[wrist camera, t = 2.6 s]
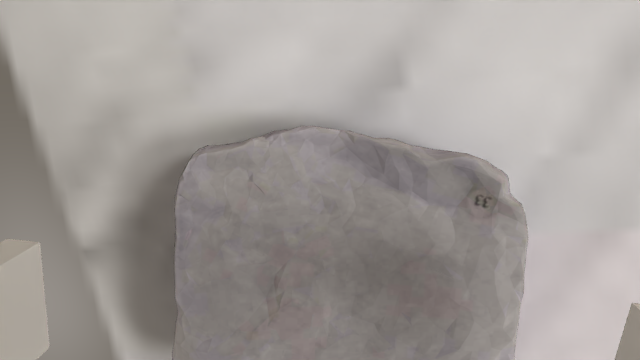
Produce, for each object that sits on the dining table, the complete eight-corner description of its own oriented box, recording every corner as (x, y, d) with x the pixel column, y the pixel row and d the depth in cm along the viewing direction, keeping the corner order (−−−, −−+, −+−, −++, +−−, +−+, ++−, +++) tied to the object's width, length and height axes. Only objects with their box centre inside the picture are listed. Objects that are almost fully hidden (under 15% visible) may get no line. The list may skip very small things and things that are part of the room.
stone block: (196, 132, 18) (202, 371, 18) (144, 124, 13) (155, 449, 14) (494, 129, 17) (490, 375, 18) (554, 120, 13) (545, 457, 13)
